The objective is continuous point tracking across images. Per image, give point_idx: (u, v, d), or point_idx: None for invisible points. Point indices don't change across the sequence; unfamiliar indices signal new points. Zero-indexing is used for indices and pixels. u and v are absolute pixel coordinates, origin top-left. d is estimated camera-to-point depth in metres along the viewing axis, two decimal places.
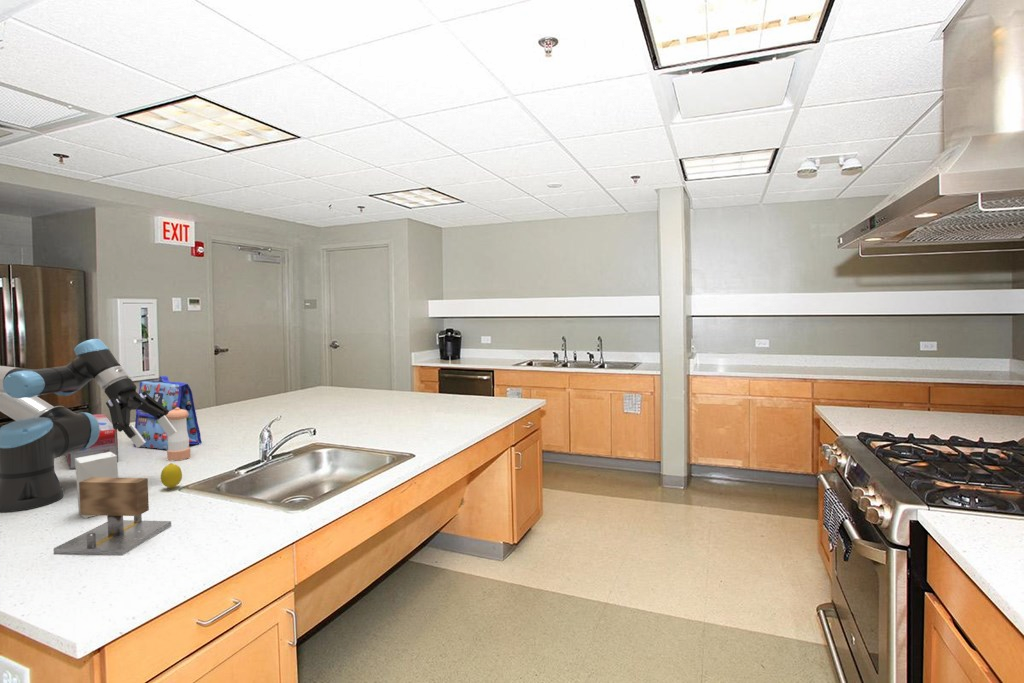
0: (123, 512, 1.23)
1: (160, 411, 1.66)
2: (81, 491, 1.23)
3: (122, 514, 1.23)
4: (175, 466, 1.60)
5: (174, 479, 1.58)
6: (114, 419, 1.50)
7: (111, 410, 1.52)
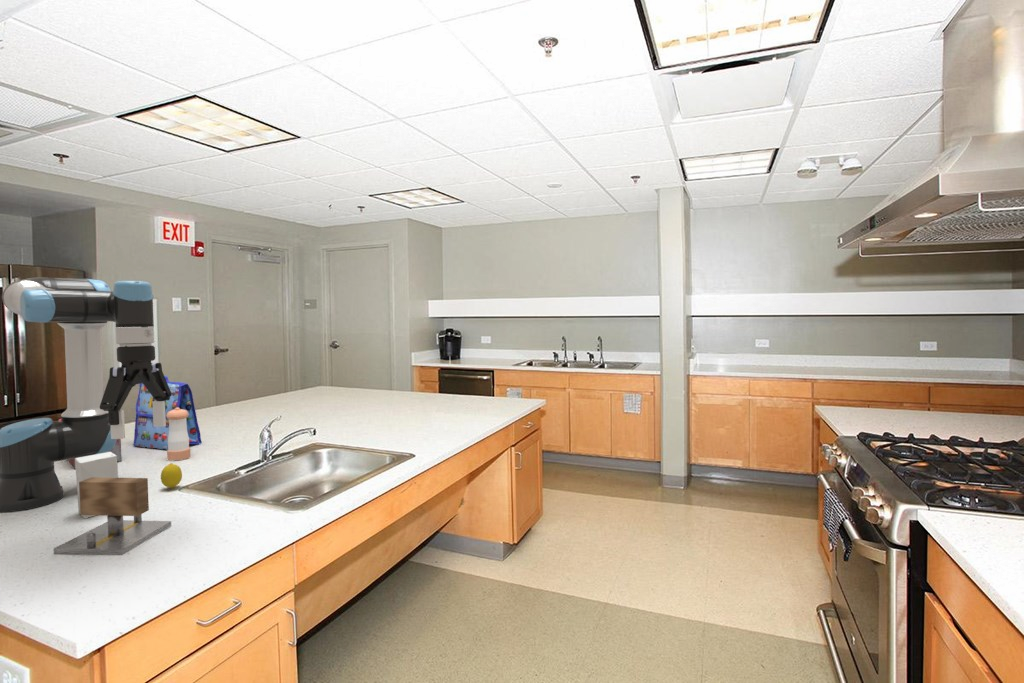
0: (123, 512, 1.23)
1: (162, 394, 1.32)
2: (81, 491, 1.23)
3: (122, 514, 1.23)
4: (175, 466, 1.60)
5: (174, 479, 1.58)
6: (107, 396, 1.16)
7: (111, 381, 1.17)
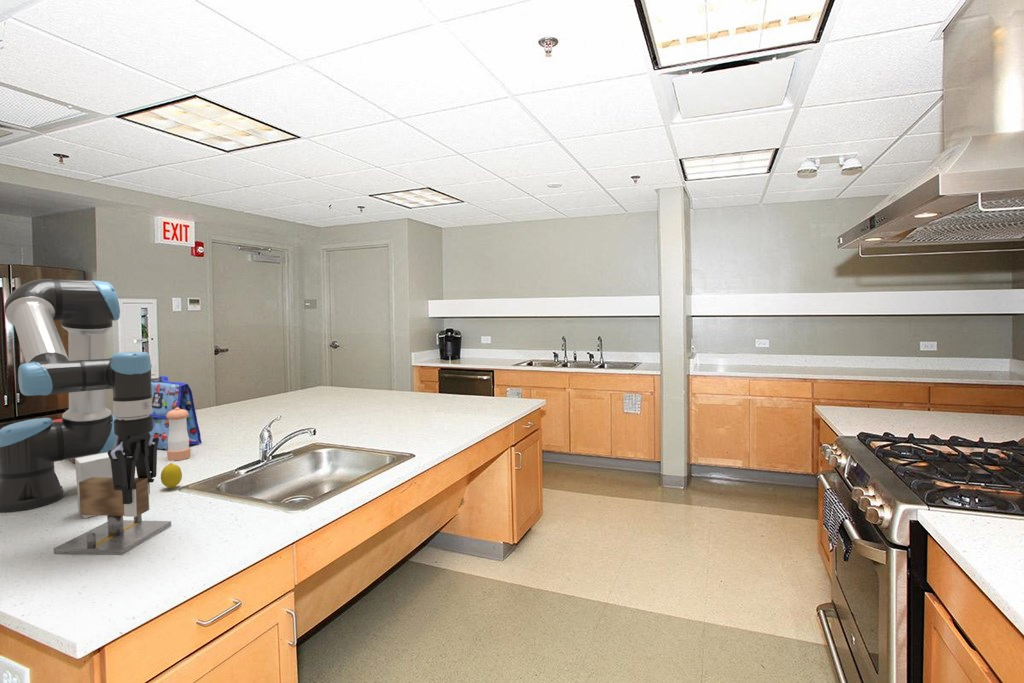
0: (123, 512, 1.23)
1: (148, 474, 1.26)
2: (81, 491, 1.23)
3: (122, 514, 1.23)
4: (175, 466, 1.60)
5: (174, 479, 1.58)
6: (116, 479, 1.18)
7: (114, 464, 1.18)
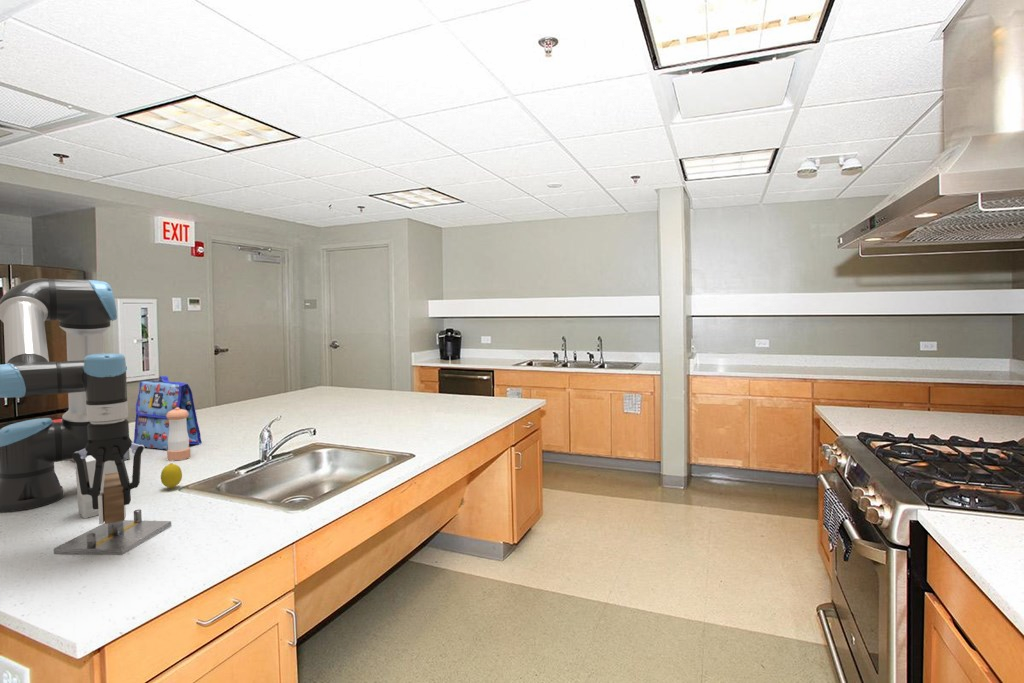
0: None
1: (123, 483, 1.20)
2: None
3: None
4: (175, 466, 1.60)
5: (174, 479, 1.58)
6: None
7: None
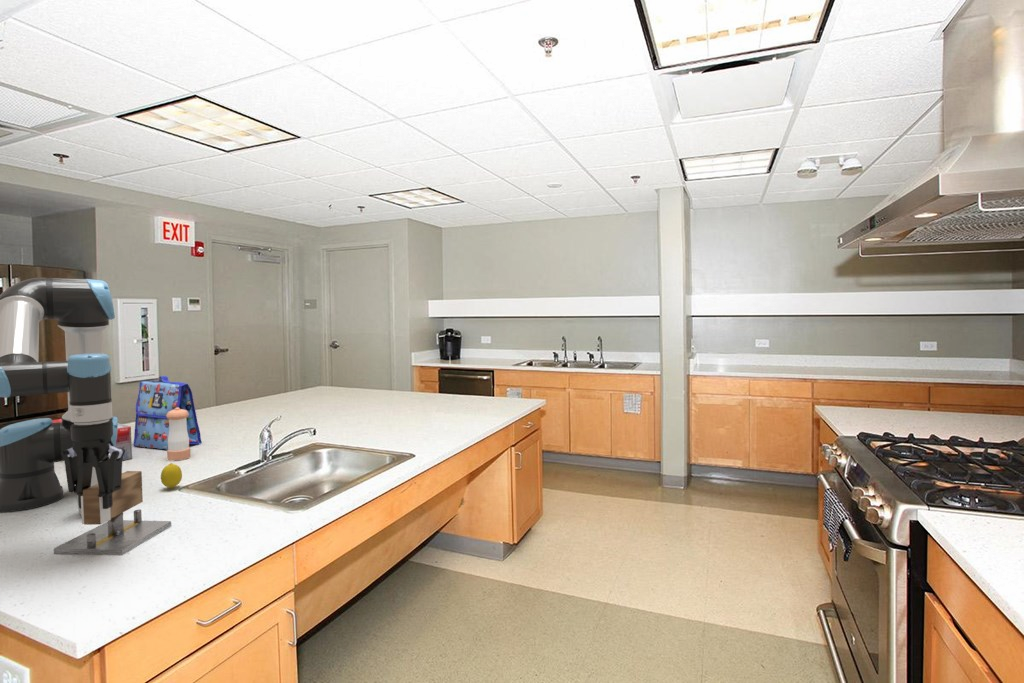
0: None
1: (101, 487, 1.17)
2: None
3: None
4: (175, 466, 1.60)
5: (174, 479, 1.58)
6: None
7: None
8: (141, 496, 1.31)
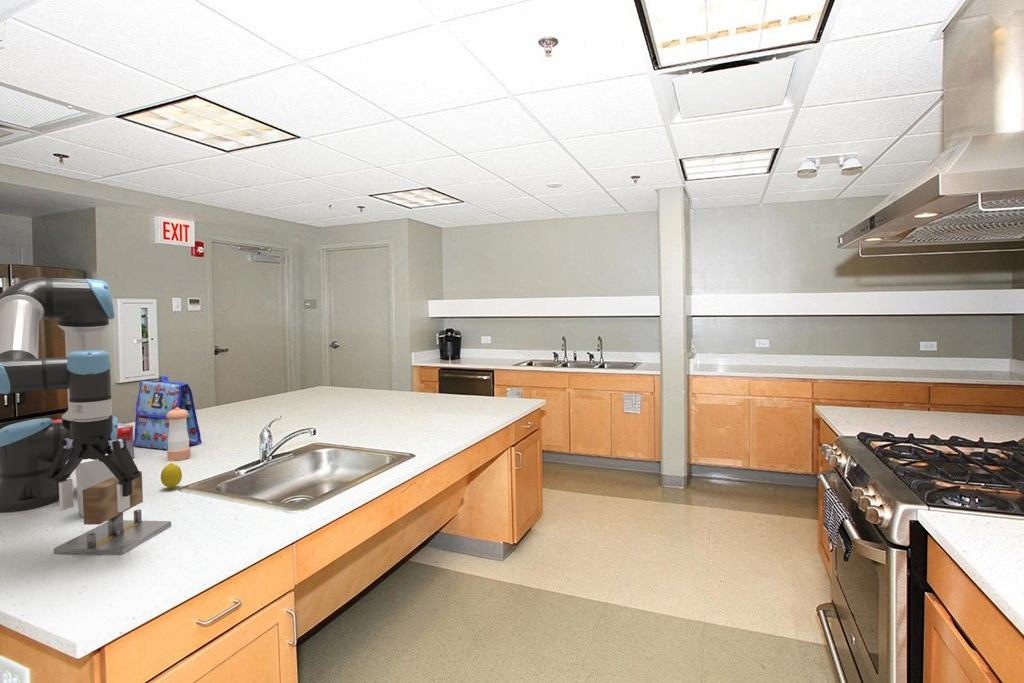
0: None
1: (118, 476, 1.17)
2: None
3: None
4: (175, 466, 1.60)
5: (174, 479, 1.58)
6: None
7: None
8: (141, 496, 1.31)
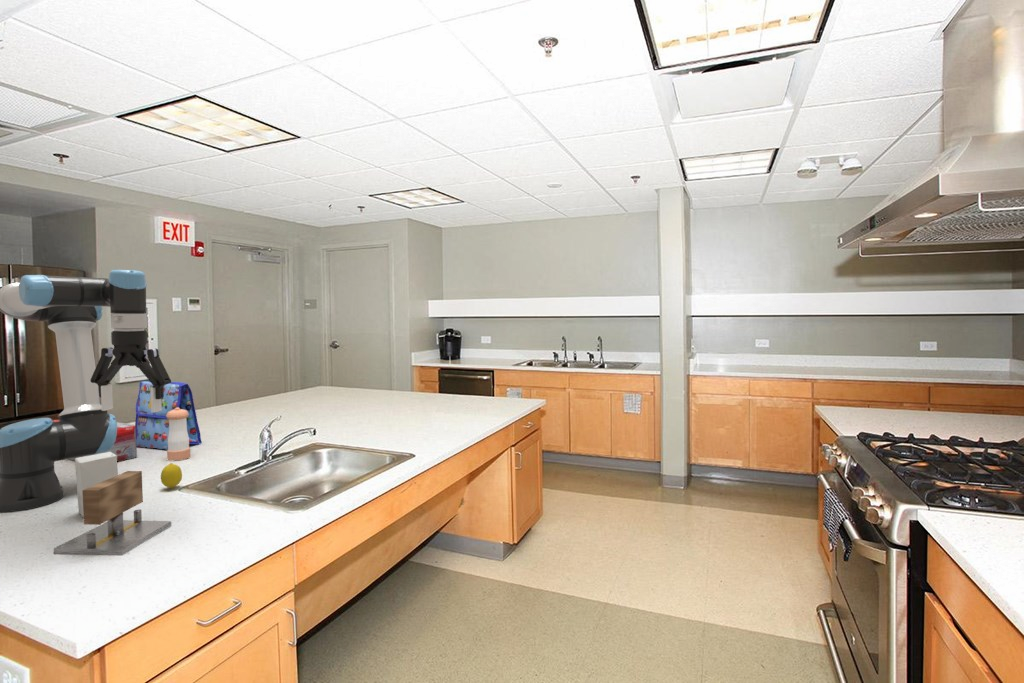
0: None
1: (151, 380, 1.33)
2: None
3: None
4: (175, 466, 1.60)
5: (174, 479, 1.58)
6: None
7: None
8: (141, 496, 1.31)
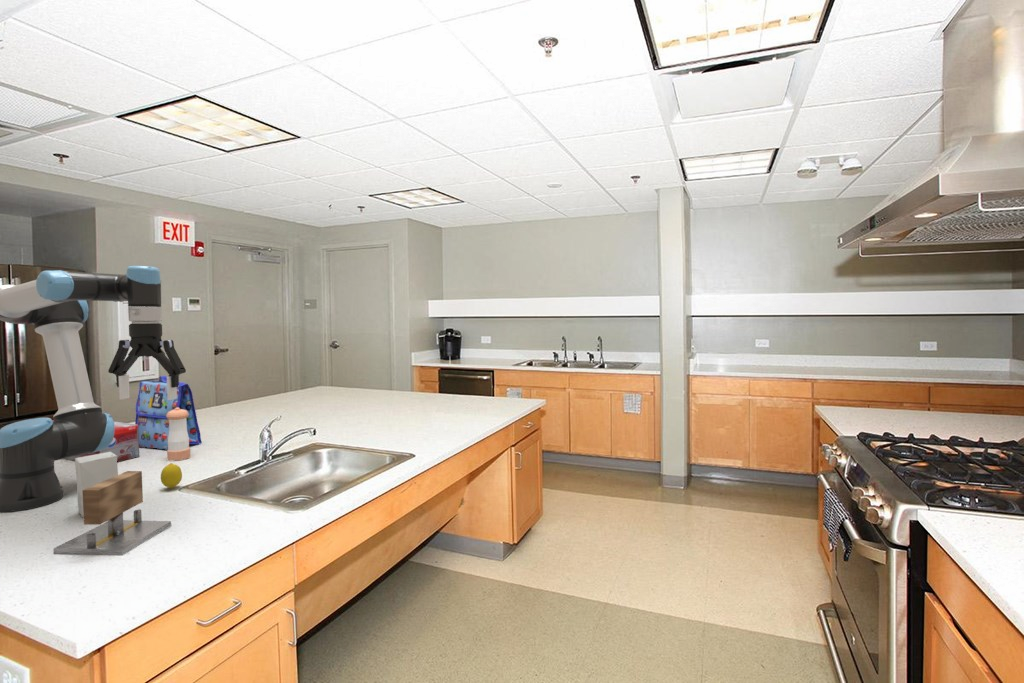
0: None
1: (167, 370, 1.41)
2: None
3: None
4: (175, 466, 1.60)
5: (174, 479, 1.58)
6: None
7: None
8: (141, 496, 1.31)
